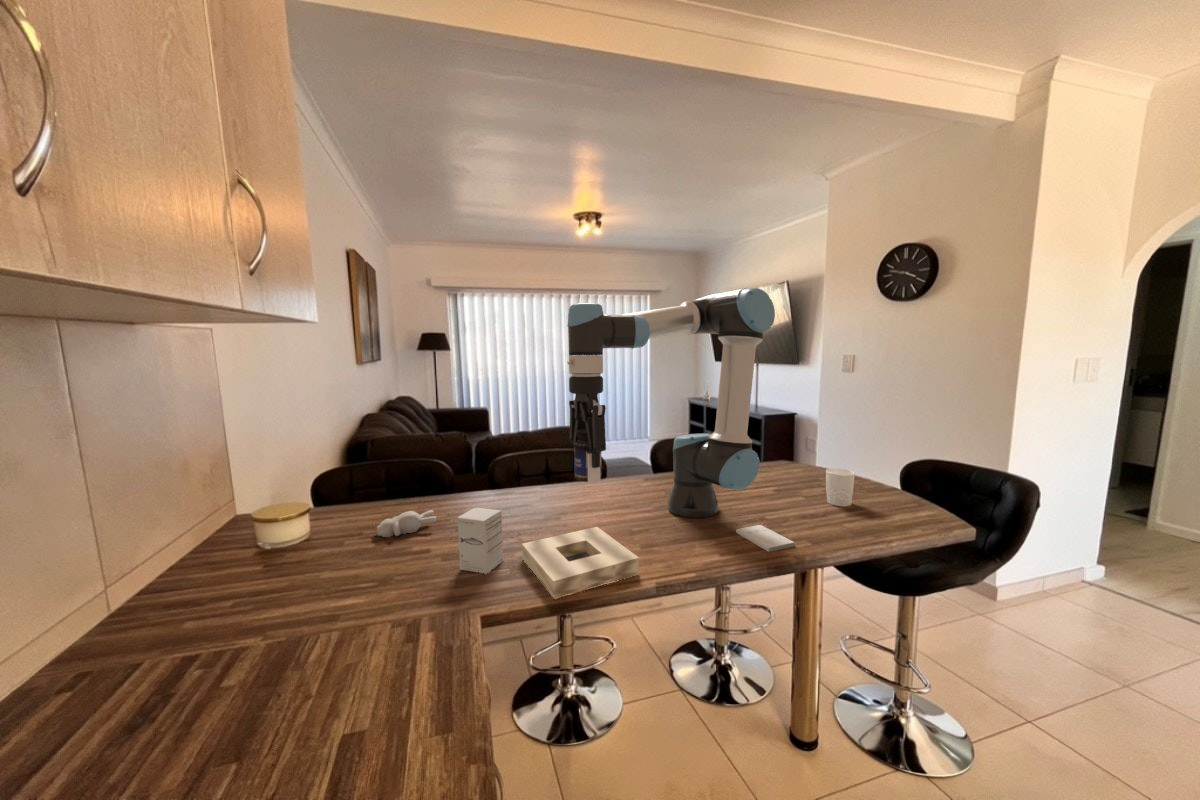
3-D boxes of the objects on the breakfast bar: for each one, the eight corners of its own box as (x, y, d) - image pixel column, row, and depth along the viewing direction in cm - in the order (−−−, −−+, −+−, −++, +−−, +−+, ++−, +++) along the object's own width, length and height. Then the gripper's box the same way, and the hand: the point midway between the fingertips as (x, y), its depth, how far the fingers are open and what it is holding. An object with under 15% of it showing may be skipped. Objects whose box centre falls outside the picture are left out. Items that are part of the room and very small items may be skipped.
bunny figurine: (375, 517, 127) (431, 502, 133) (379, 534, 127) (434, 518, 134) (375, 529, 118) (435, 512, 125) (379, 547, 119) (438, 529, 125)
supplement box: (459, 570, 103) (455, 517, 101) (478, 556, 110) (475, 506, 108) (486, 575, 100) (483, 520, 99) (504, 560, 107) (502, 509, 106)
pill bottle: (570, 476, 104) (569, 429, 103) (595, 473, 106) (594, 427, 105) (580, 483, 98) (579, 433, 97) (606, 480, 101) (605, 431, 99)
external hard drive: (768, 554, 109) (735, 534, 120) (795, 548, 112) (761, 529, 123) (768, 547, 109) (736, 528, 120) (795, 542, 111) (761, 523, 123)
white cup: (829, 506, 138) (830, 474, 137) (821, 498, 145) (822, 468, 144) (857, 507, 136) (859, 475, 135) (847, 499, 144) (849, 468, 143)
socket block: (597, 541, 117) (596, 526, 116) (639, 575, 99) (638, 557, 99) (522, 559, 107) (521, 543, 107) (553, 600, 90) (553, 581, 89)
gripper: (553, 374, 106) (555, 470, 109) (590, 377, 90) (591, 491, 92) (582, 373, 110) (583, 466, 112) (622, 376, 93) (623, 486, 95)
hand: (587, 477), depth 102 cm, fingers closed on pill bottle, 6 cm apart
